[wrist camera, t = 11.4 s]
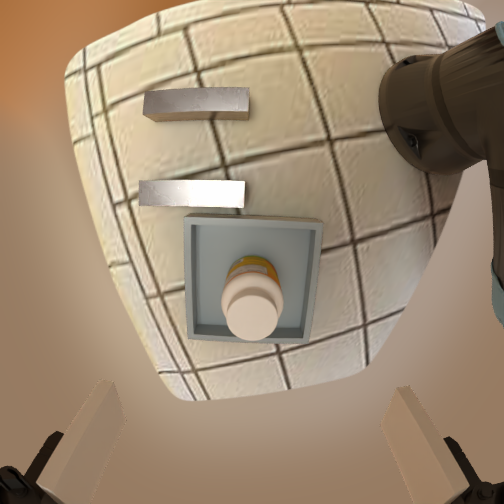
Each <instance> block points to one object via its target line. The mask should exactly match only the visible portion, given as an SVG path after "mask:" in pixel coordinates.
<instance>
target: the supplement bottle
mask: <svg viewBox="0 0 504 504" xmlns="http://www.w3.org/2000/svg"><path fill="white" fill-rule="evenodd" d="M283 304H284V300H283V294H282V290H281V286H280V282H279V278H278V275H277V272H276V269H275V267H274V266H273V264H272V263H271V262H270V261H269V260H267V259H266V258H264V257H262V256H258V255H246V256H243V257H241V258H239V259H237V260H236V261H235V262H234V263H233V264H232V265H231V267H230V269H229V271H228V274H227V277H226V281H225V285H224V289H223V293H222V299H221V306H222V311H223V313H224V316H225V317H226V320H227V325H228V327H229V329H230V330H231V332H232V333H233V334H234V335H236V336H237V337H239V338H241V339H244V340H248V341H256V340H261V339H263V338H265V337H267V336H269V335H270V334H271V333H272V332H273V331H274V329H275V328H276V326H277V322H278V318H279V317H280V315H281V313H282V310H283Z"/></svg>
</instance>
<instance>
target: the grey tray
mask: <svg viewBox="0 0 504 504" xmlns="http://www.w3.org/2000/svg"><path fill="white" fill-rule="evenodd" d="M322 234H323V223H322V222H321V221H319V220H318V219H311V218H294V217H276V216H255V215H230V214H197V213H190V214H188V215H187V216H185V217H184V269H185V298H186V317H187V334H188V339H194V340H207V341H222V342H242V343H276V344H309V337H310V331H311V325H312V318H313V311H314V304H315V296H316V289H317V281H318V272H319V264H320V254H321V245H322ZM246 255H258V256H262V257H264V258H266V259H267V260H269V261H270V262H271V263H272V264H273V266H274V267H275V269H276V272H277V275H278V278H279V282H280V286H281V290H282V294H283V300H284V304H283V310H282V313H281V315H280V317H279V318H278V322H277V326H276V328H275V329H274V331H273V332H272V333H271V334H270V335H269V336H267V337H265V338H263V339H261V340H256V341H248V340H244V339H241V338H239V337H237V336H236V335H234V334H233V333H232V332H231V330H230V329H229V327H228V325H227V320H226V317H225V316H224V313H223V311H222V306H221V299H222V293H223V289H224V285H225V281H226V277H227V274H228V271H229V269H230V267H231V265H232V264H233V263H234V262H235V261H236V260H237V259H239V258H241V257H243V256H246Z"/></svg>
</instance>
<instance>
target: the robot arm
mask: <svg viewBox="0 0 504 504" xmlns="http://www.w3.org/2000/svg"><path fill="white" fill-rule="evenodd" d="M379 107H380V113H381V117H382V121H383V124H384V127H385V129H386V131H387V134H388V136H389V138H390V139H391V141H392V143H393V144H394V146H395V147H396V149H397V150H398V151H399V153H400V154H401V155H402V156H403V157H404V158H405V159H406V160H407V161H408V162H409V163H411V164H412V165H413V166H415V167H416V168H418V169H420V170H422V171H424V172H427V173H430V174H437V175H451V174H456V173H459V172H461V171H463V170H465V169H467V168H469V167H471V166H472V165H474V164H476V163H478V162H480V161H482V160H487V165H488V171H489V178H490V189H491V199H492V212H493V231H494V232H493V235H494V256H493V259H492V262H491V273H492V305H493V309H494V313H495V315H496V317H497V319H498V320H499V322H500V323H501V324H502V325H503V327H504V22H502V21H501V22H499V23H497V24H496V25H495V26H494V27H492V28H490V29H488V30H486V31H484V32H482V33H480V34H478V35H476V36H474V37H472V38H470V39H468V40H466V41H465V42H463V43H461V44H459V45H457V46H455V47H454V48H452V49H450V50H448V51H446V52H445V53H443V54H428V55H413V56H409V57H406V58H404V59H402V60H400V61H399V62H397V63H396V64H394V65H393V66H392V67H391V68H390V69H389V70H388V71H387V72H386V73H385V75H384V77H383V79H382V82H381V85H380V90H379ZM126 421H127V420H126V417H125V414H124V412H123V409H122V406H121V403H120V400H119V397H118V394H117V391H116V388H115V384H114V382H111V381H107V380H102V379H100V380H99V381H98V383H97V384H96V386H95V387H94V389H93V390H92V392H91V393H90V395H89V396H88V398H87V399H86V401H85V402H84V404H83V406H82V407H81V409H80V410H79V412H78V413H77V415H76V416H75V418H74V419H73V421H72V423H71V424H70V426H69V427H68V429H67V431H66V432H65V434H63V433H61V432H59V431H56V432H54V433H53V434H52V435H50V436H49V437H48V438H47V440H46V441H45V443H44V445H43V447H42V448H41V449H40V451H39V453H38V454H37V456H36V457H35V459H34V460H33V462H32V464H31V465H30V467H29V469H28V470H27V472H26V474H25V475H24V476H23V475H21V473H20V472H19V471H18V470H17V469H16V468H14V467H12V466H4V467H2V468H1V469H0V504H91V501H92V498H93V496H94V494H95V491H96V489H97V487H98V484H99V482H100V479H101V477H102V474H103V472H104V470H105V468H106V465H107V463H108V461H109V458H110V456H111V454H112V451H113V449H114V447H115V445H116V443H117V440H118V438H119V436H120V434H121V431H122V429H123V427H124V425H125V423H126ZM380 426H381V428H382V431H383V433H384V435H385V438H386V440H387V442H388V444H389V447H390V449H391V451H392V454H393V456H394V458H395V460H396V463H397V465H398V467H399V470H400V472H401V475H402V477H403V480H404V482H405V484H406V487H407V489H408V492H409V494H410V497H411V499H412V502H413V504H504V482H501V483H497V484H493V485H492V484H491V483H489V482H482V481H481V480H480V479H479V478H478V476H477V474H476V472H475V471H474V469H473V467H472V466H471V464H470V462H469V461H468V459H467V458H466V456H465V454H464V452H462V449H461V448H460V446H459V444H458V443H457V442H456V441H455V440H454V439H452V438H451V437H446V438H444V439H443V438H442V436H441V435H440V433H439V431H438V430H437V428H436V426H435V425H434V423H433V422H432V420H431V418H430V417H429V415H428V414H427V412H426V411H425V409H424V408H423V406H422V404H421V403H420V401H419V400H418V398H417V397H416V395H415V394H414V392H413V390H412V389H411V387H410V386H404V387H398V388H396V390H395V392H394V395H393V397H392V399H391V402H390V404H389V406H388V409H387V411H386V413H385V415H384V417H383V419H382V422H381V424H380Z"/></svg>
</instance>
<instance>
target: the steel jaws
mask: <svg viewBox="0 0 504 504" xmlns="http://www.w3.org/2000/svg"><path fill="white" fill-rule="evenodd" d="M143 115H144V116H146V117H148V118H150V119H151V120H153V121H155V122H162V121H181V120H248V118H249V88H242V87H207V88H183V89H169V90H158V91H148V92H145V96H144V105H143ZM245 183H246V181H227V180H146V181H139V206H203V207H236V208H244V204H245Z"/></svg>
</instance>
